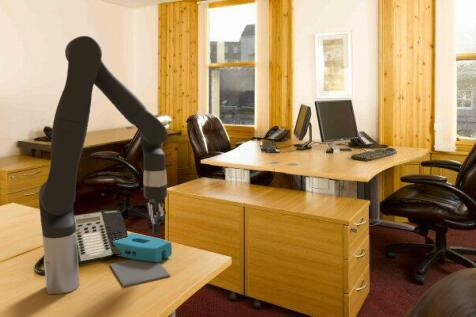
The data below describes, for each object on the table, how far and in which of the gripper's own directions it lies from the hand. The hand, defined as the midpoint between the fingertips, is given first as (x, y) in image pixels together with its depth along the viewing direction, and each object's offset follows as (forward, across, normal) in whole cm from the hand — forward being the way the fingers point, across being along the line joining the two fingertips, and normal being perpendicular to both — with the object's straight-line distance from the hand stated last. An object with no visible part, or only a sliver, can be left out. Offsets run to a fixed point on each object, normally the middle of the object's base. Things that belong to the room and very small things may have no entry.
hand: (156, 233), depth 141 cm
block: (+8, -3, +4) cm, 10 cm away
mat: (+12, 0, -6) cm, 13 cm away
